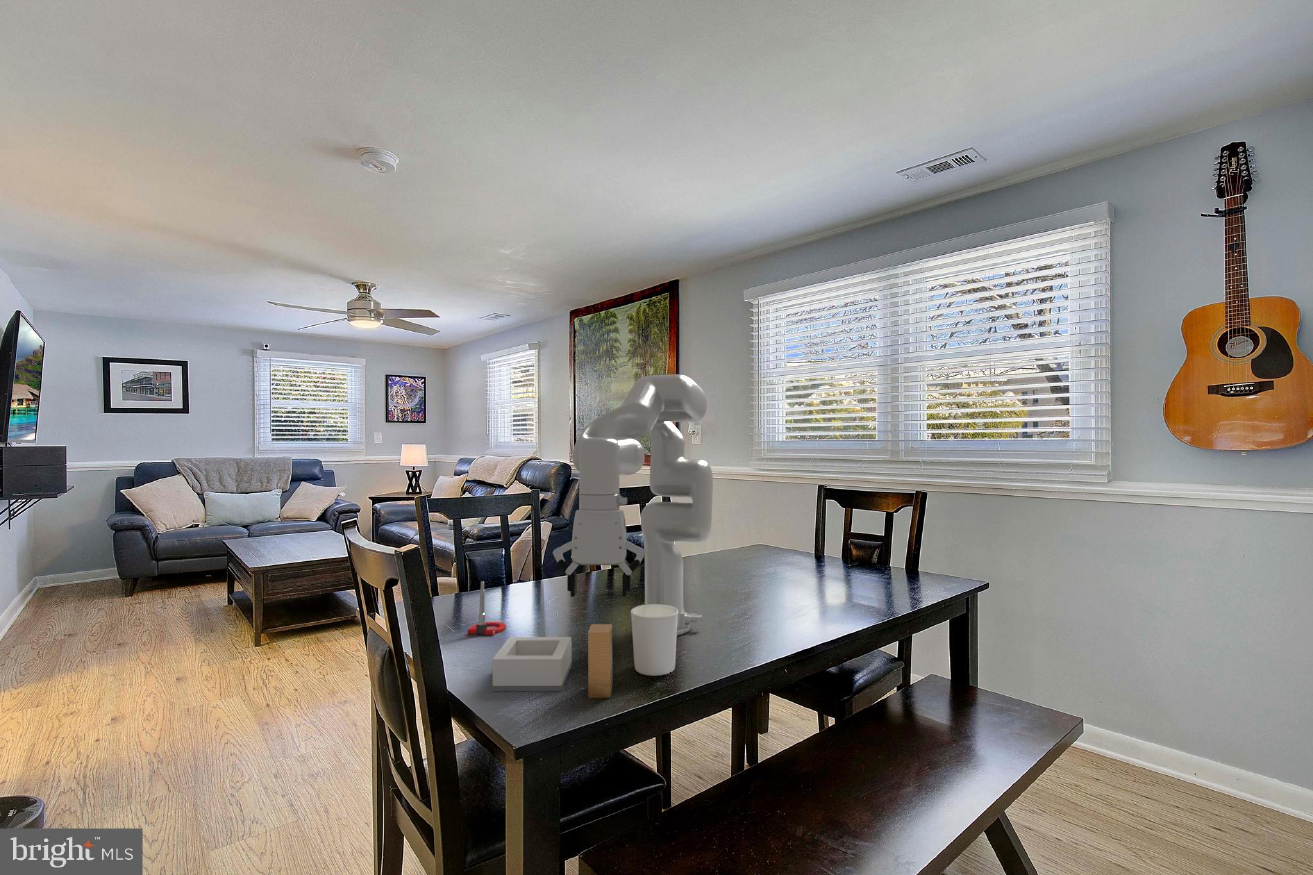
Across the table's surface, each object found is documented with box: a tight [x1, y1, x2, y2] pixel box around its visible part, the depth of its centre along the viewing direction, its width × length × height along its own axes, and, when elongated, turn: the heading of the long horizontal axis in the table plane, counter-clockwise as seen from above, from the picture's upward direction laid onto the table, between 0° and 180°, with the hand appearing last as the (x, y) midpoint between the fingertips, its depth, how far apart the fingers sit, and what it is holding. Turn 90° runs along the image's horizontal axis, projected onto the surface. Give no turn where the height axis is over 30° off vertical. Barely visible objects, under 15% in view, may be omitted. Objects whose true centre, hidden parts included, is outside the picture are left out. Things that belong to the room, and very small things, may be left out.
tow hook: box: [467, 581, 507, 637], centre depth 155 cm, size 8×13×9 cm
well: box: [492, 636, 572, 692], centre depth 124 cm, size 13×13×6 cm
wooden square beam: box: [587, 623, 613, 699], centre depth 117 cm, size 4×5×12 cm
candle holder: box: [630, 604, 678, 677], centre depth 129 cm, size 10×10×12 cm
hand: (599, 595), depth 116 cm, fingers open, 9 cm apart
